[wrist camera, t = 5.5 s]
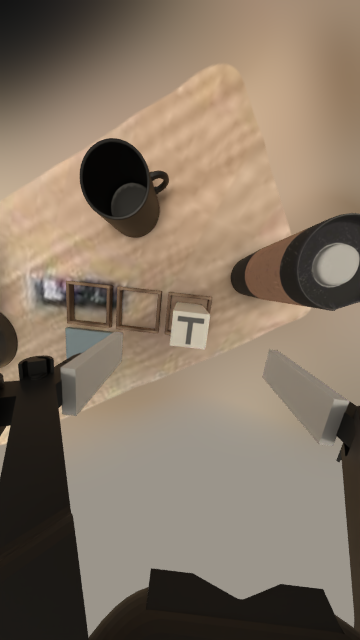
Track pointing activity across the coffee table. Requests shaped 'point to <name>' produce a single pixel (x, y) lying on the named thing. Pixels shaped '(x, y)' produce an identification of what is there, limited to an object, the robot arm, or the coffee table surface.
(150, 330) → the wooden window frame
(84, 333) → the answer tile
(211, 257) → the coffee table surface
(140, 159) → the mug
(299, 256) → the travel mug
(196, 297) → the wooden frame right
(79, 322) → the wooden picture frame
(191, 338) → the letter block
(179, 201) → the coffee table surface
